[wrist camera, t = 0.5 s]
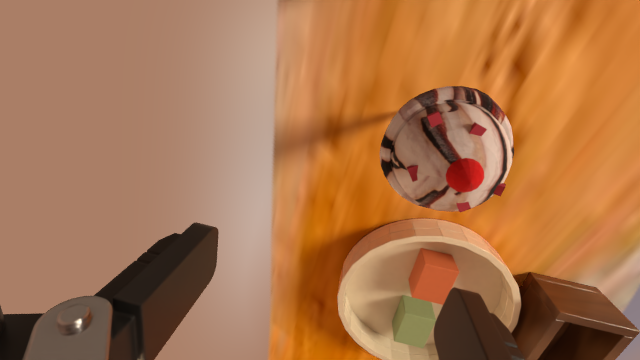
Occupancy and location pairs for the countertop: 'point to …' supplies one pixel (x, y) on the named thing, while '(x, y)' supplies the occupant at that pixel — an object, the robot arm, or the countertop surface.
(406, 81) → the countertop surface
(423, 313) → the green block
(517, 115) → the countertop surface
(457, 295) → the robot arm
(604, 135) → the countertop surface
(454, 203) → the ice cream cone
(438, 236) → the bowl
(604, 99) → the countertop surface
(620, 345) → the holder
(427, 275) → the orange rectangular block
